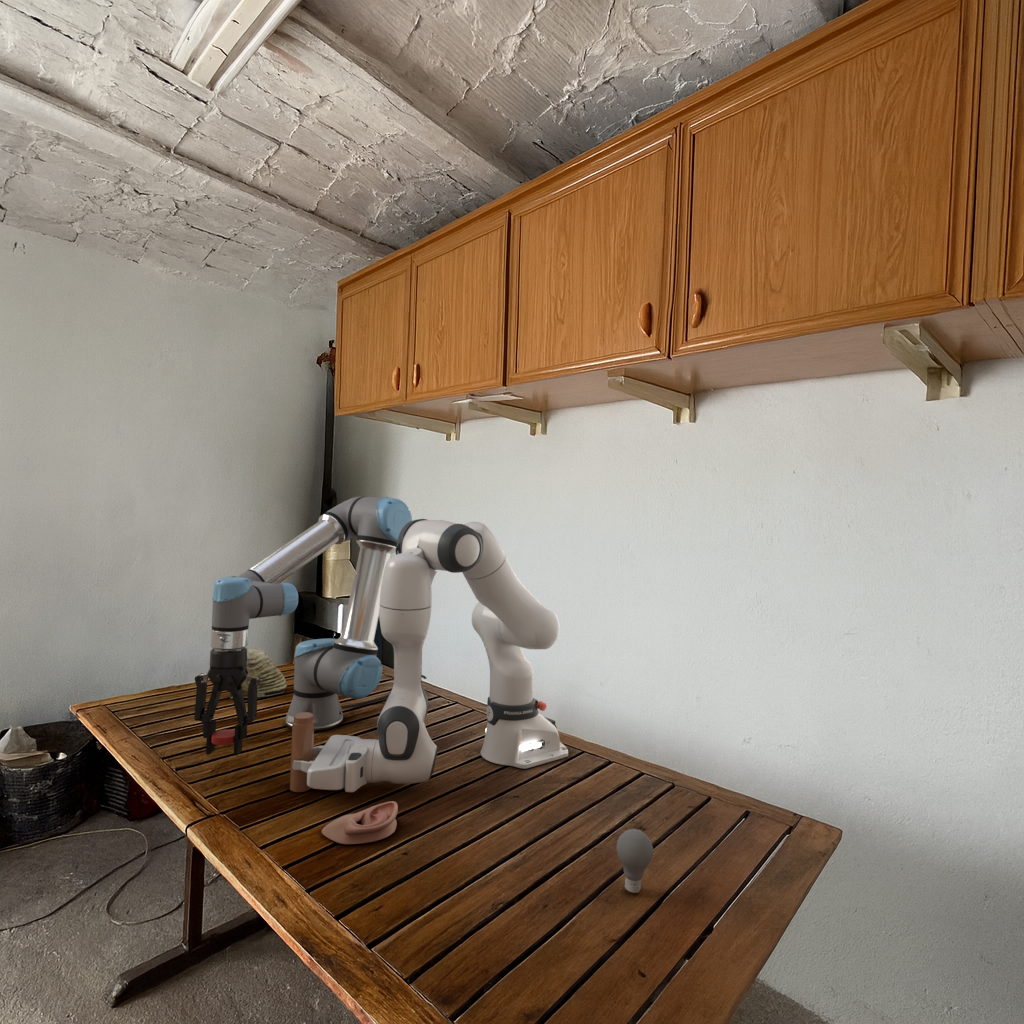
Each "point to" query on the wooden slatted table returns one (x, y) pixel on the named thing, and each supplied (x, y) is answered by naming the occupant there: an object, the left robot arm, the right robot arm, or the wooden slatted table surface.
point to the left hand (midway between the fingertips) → (224, 752)
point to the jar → (301, 748)
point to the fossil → (263, 674)
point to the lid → (223, 737)
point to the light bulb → (634, 857)
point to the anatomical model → (364, 825)
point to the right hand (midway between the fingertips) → (297, 758)
